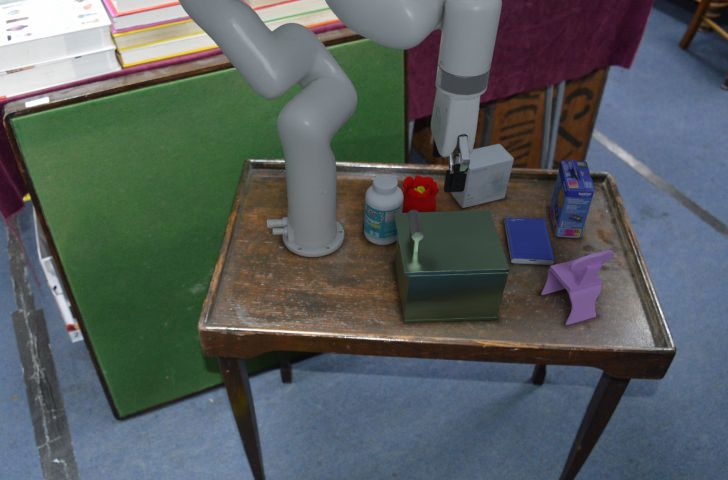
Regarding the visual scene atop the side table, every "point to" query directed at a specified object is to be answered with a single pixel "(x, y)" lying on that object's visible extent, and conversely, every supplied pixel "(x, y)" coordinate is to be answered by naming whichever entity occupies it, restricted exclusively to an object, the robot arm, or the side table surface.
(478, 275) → the green open box
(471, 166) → the cosmetics box
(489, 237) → the green box lid
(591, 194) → the ink cartridge box
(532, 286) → the side table surface
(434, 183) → the flower
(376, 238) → the pill bottle
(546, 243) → the hard drive
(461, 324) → the side table surface
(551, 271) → the purple stand
